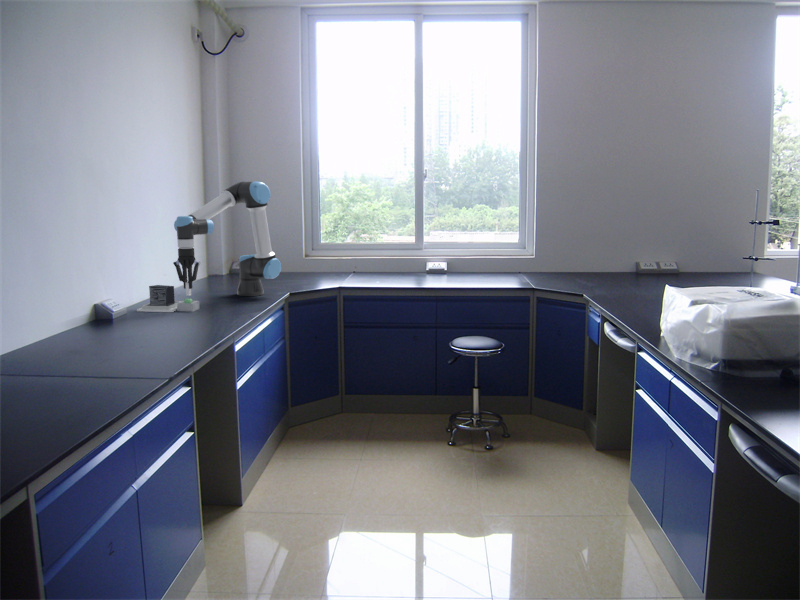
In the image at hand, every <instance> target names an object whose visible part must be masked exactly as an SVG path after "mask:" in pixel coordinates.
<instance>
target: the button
mask: <svg viewBox="0 0 800 600" xmlns="http://www.w3.org/2000/svg"><path fill="white" fill-rule="evenodd" d="M183 300H184V303H192V301H193V299H192V298H184V299H183Z"/></svg>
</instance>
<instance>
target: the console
mask: <svg viewBox="0 0 800 600" xmlns="http://www.w3.org/2000/svg"><path fill="white" fill-rule="evenodd" d="M180 301H181V302H179V303H177V312H191V313H193V312H196V311H197V310H200V301H199V300H192V303H184V299H183V300H180Z"/></svg>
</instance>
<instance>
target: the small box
mask: <svg viewBox="0 0 800 600" xmlns="http://www.w3.org/2000/svg"><path fill="white" fill-rule="evenodd" d="M148 289H149V303H150V306H170V305H173V304H175V301H176V300H175V286H174V285H162V284H156V285H149V286H148Z"/></svg>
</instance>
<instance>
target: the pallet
mask: <svg viewBox="0 0 800 600" xmlns="http://www.w3.org/2000/svg"><path fill="white" fill-rule="evenodd" d="M181 301H182V300H175V304H173V305H170V306H150V302H148V303H145V304H144V305H141V307H139V308H137V309H136V312H150V313H151V312H152V313H153V312H155V313H157V312H158V313H173V312H174V311H175V312H176V311H177V303H179V302H181ZM175 312H174V313H175ZM177 312H178V311H177Z"/></svg>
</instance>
